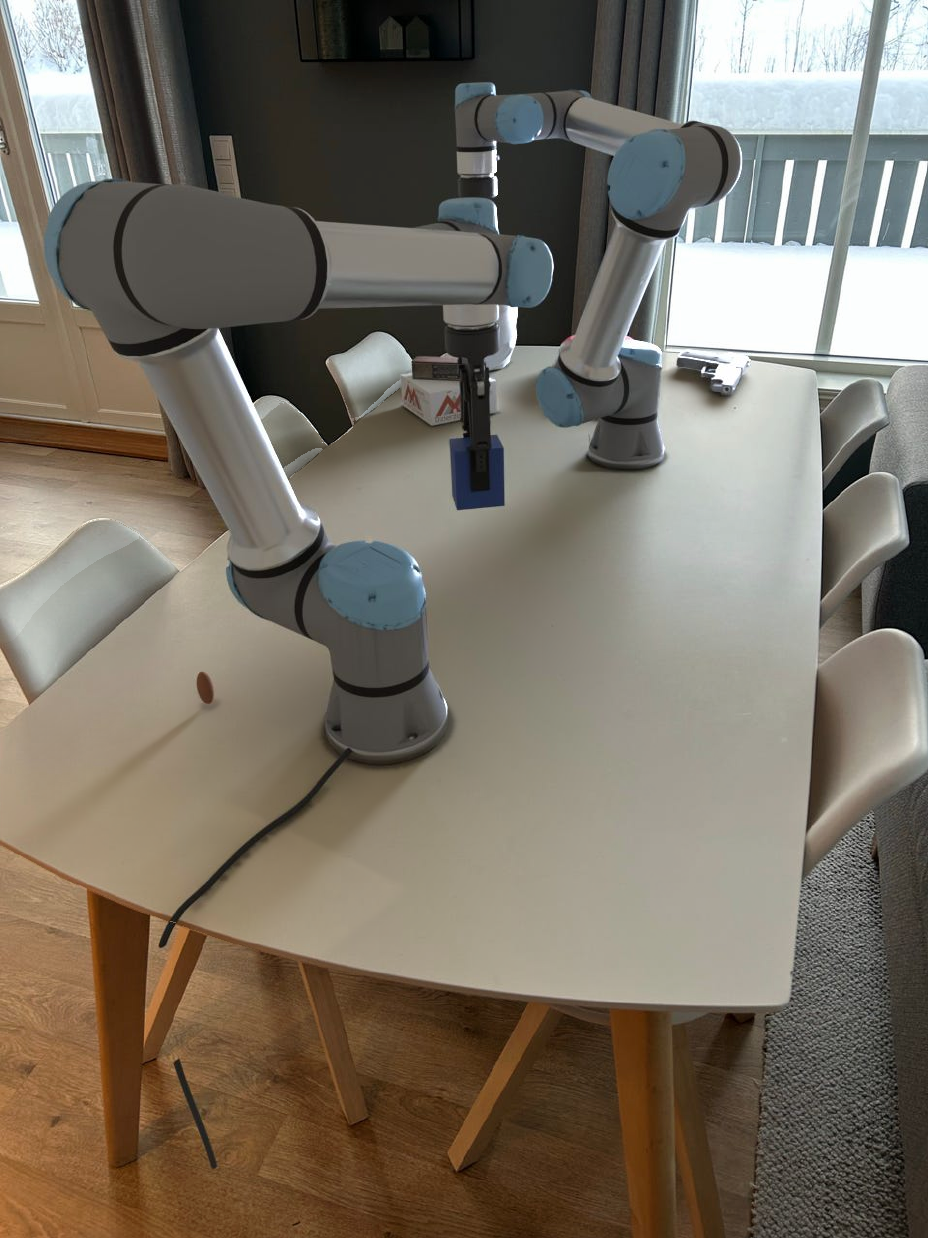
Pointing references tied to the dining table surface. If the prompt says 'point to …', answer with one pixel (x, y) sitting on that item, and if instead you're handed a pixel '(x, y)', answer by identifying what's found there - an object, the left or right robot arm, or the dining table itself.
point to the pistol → (716, 368)
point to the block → (462, 476)
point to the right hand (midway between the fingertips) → (480, 290)
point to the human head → (504, 338)
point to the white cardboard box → (436, 390)
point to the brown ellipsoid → (205, 687)
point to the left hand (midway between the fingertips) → (477, 481)
